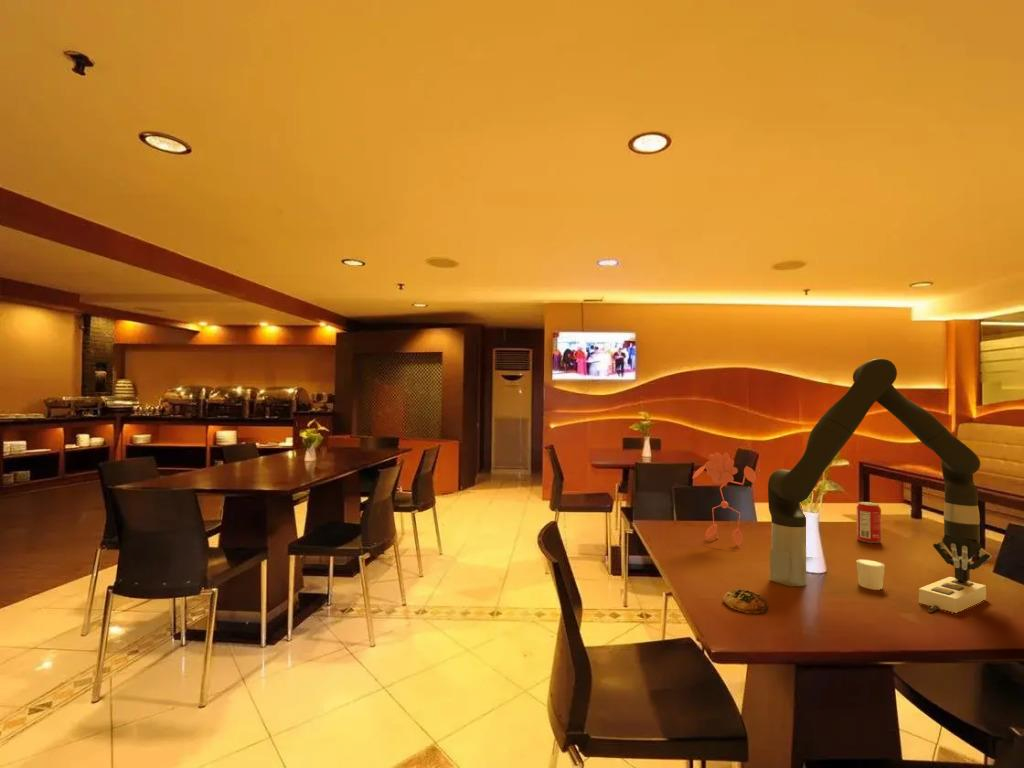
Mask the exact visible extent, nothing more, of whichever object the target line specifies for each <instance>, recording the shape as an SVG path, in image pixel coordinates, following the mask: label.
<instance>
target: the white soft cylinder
mask: <svg viewBox="0 0 1024 768" xmlns="http://www.w3.org/2000/svg"><path fill="white" fill-rule="evenodd" d="M855 562H856V569H857V571H856V572H857V577H858V580H857V581H858V585H859V586H860V587H863V588H865V589H870V590H875V591H878V590H879V591H880V589H881V590H882V589H883V585H884V578H885V569H886V568H885V567H886V566H885V564H884V563H883V562H881V561H877V560H873V559H866V558H863V559H862V558H860V559H857V560H856V561H855Z"/></svg>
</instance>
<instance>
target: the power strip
mask: <svg viewBox="0 0 1024 768" xmlns="http://www.w3.org/2000/svg"><path fill="white" fill-rule="evenodd" d="M955 579H956V578H955V577H953V576H948V577H946V578H942V579H940V580H938V581H934V582H932V583H930V584H927V585H924V586H922V587H920V588H918V604H919V603H923V604H927V605H931V606H932V607H927V608H926V609H927V610H929V611H933V612H935V611H937V610H939V608H941V609H945V610H948V611H952V612H955V613H957V612H959V611H962V610H964V609H966V608H968V607H970V606H973V605H975V604H977V603H979V602H981V601H983V600H985V599H986V600H987V586H986V585H985V584H981V583H977V582H974V581H973V582H972V581H970V580H969V581H967V582H971V583H973V585H972V586H970V587H968V586H964V585H960V584H956V583H952V581H953V580H955ZM945 583H950V584H954V585H958V586H962V587H964V589H963V590H960V591H958V590H954V589H950V588H946V587H942V585H943V584H945ZM935 587H940V588H944V589H947V590H951V591H954V593H953V594H951V595H946V594H942V593H939V592H935V591H931V589H933V588H935ZM986 600H985V601H986ZM983 602H984V601H983ZM981 603H982V602H981ZM979 604H980V603H979ZM977 605H978V604H977ZM975 606H976V605H975ZM973 607H974V606H973ZM936 609H937V610H936ZM934 610H935V611H934Z"/></svg>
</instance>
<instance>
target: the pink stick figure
mask: <svg viewBox="0 0 1024 768" xmlns="http://www.w3.org/2000/svg"><path fill="white" fill-rule="evenodd" d="M708 459H709V461H706V462H705V464H704V465H702V466H700V467H699V468H698V469H697V470H696V471H695V473H694V474H693V476H692V477H691V478H692V480H695V478H697V477H699V476H700V475H701V474H702V473H703V472H704V471H705V470H706V475H707V476H710V477H711V480H712V482H713V483H715V484H722V485H721V486H720V487H719V491H720V494H721V498H722V501H721V503H720V504H719V505H717V506H715V507H712V523H713V524H711V525H710V526H709V527H708V528H707V530H706V532H705V535H704V536H705V539H707V540H710V539H711V538H713V537H714V536H716V539H717V538H718V539H719V536H718V532H717V531H718V525H717V524H716V523H715V517H714V509H716V508H719V507H721V508H723V509H728V508H729V509H731V511H734V512H736V513H738V514H739V515H738V521H737V527H736V528H735V529H734V530H733V531H732V536H731V538H732V541H733V542H734V543H735V545H736V546H737V547H738V546H739V547H740V546H741V545H742V543H743V541H744V536H743V533H742V531H741V530H740V529H739V526H740V522H741V515H742V514H741V512H739V511H737V510H736V509H734V508H733V507H730V506H729V502H727V501H725V498H724V494H723V491H722V488H723V487H724V486H726V485H728V483H732V484H736V485H741V486H744V484H745V480H747V481H749V482H751V483H752V484H755V483H756V479H757V474H756V472H755V470H754V469H753V468H752V467H749V466H748V465H746V466H745V467H744V469H743V480H742V482H739V481H734V480H735V479H734V478H735V477H734V476H735V475H736V474H738V473H739V469H738V467H736V466H734V465H735V460H733V459H731V456H730V454H729V453H728V452H724V453H723V455H722V454H721V453H719V452H717V451H716V452H714V454H712V453H710V454H708Z"/></svg>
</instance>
